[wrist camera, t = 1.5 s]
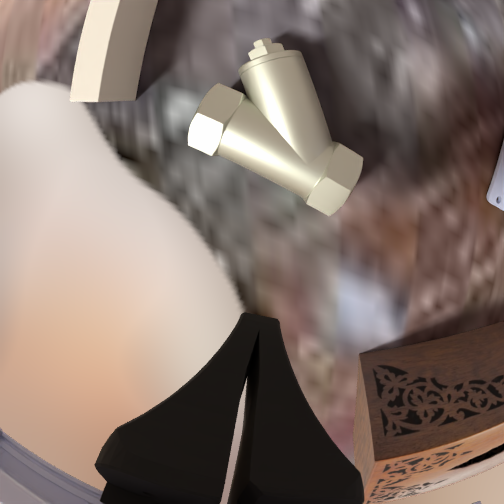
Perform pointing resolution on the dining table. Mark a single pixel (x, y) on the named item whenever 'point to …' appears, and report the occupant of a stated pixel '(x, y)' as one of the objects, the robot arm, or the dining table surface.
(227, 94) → the pipe fitting
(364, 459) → the tissue box cover
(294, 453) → the robot arm
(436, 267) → the dining table surface
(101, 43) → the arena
